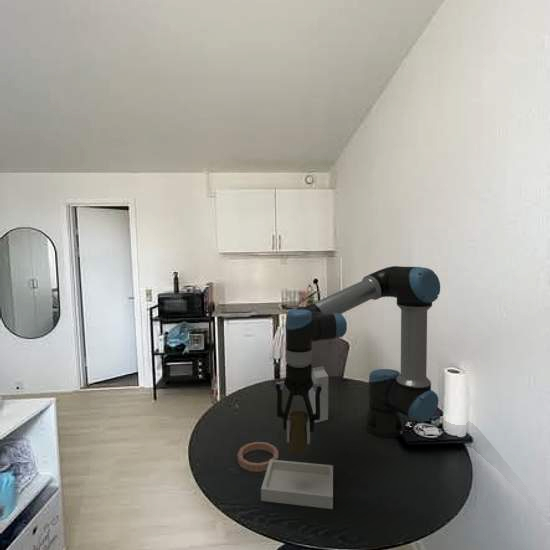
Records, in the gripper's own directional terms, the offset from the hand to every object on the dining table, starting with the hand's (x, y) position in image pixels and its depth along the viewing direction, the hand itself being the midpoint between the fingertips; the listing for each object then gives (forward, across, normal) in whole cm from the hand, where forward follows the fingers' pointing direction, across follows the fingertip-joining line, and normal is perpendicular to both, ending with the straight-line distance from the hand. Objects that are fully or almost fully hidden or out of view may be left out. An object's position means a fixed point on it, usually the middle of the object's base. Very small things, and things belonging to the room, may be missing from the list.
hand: (298, 440), depth 101 cm
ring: (+15, +15, -12) cm, 24 cm away
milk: (+15, -4, -44) cm, 47 cm away
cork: (+2, 0, 0) cm, 2 cm away
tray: (+15, 0, 0) cm, 15 cm away
